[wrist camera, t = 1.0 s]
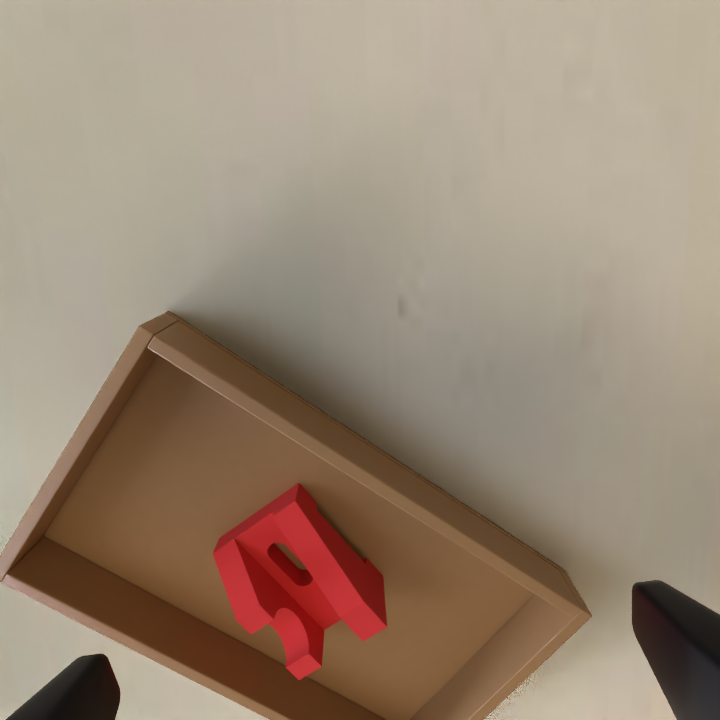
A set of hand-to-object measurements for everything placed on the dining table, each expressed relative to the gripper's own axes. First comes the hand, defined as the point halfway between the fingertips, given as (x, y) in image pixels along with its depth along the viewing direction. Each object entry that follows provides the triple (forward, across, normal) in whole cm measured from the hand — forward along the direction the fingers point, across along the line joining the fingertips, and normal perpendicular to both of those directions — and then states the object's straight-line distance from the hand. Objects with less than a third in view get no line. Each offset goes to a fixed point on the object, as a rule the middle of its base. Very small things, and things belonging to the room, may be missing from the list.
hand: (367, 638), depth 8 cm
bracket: (+13, +4, +8) cm, 16 cm away
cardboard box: (+13, +4, +8) cm, 16 cm away
